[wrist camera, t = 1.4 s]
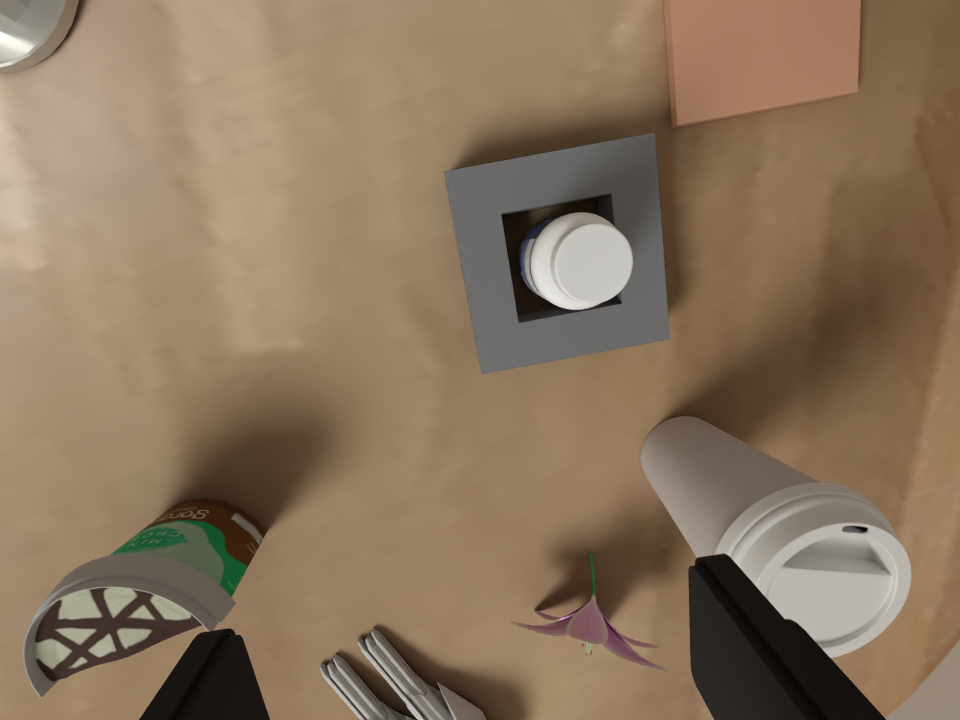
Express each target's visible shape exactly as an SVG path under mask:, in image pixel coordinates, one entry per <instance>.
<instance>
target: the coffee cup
mask: <svg viewBox="0 0 960 720" xmlns="http://www.w3.org/2000/svg"><path fill="white" fill-rule="evenodd" d="M640 460H641V466H642V469H643V472H644V474H645V475H646V477H647V479H648V480H649V482H650V483H651V485H652V487H653V488H654V490H655V491H656V493H657V495H658V496H659V498H660V499H661V501H662V503H663V504H664V506H665V507H666V509H667V510H668V512H669V514H670V515H671V517H672V518H673V520H674V522H675V523H676V525H677V526H678V528H679V530H680V531H681V533H682V534H683V536H684V538H685V539H686V541H687V542H688V544H689V546H690V547H691V549H692V550H693V552H694V554H695V555H696V557H697V558H698V557H704V556H710V555H717V554H723V553H725V554H727V555H728V556H729V557H731V558H732V560H733V561H734V562H735V563H736V564H737V565H738V566H739V567H740V569H741V570H742V571H743V572H744V573H745V574H746V575H747V577H748V578H749V579H750V580H751V581H752V582H753V583H754V585H755V586H756V587H757V588H758V589H759V590H760V591H761V593H762V594H763V595H764V596H765V597H766V598H767V599H768V600H769V602H770V603H771V604H772V605H773V606H774V607H775V608H776V610H777V611H778V612H779V613H780V614H781V615H782V616H783V618H784V619H791V620H793V621H795V622H797V623H798V624H799V625H800V626H801V627H802V628H803V629H804V630H805V631H806V632H807V633H808V634H809V635H810V636H811V637H812V638H813V640H814V641H815V642H816V643H817V644H818V645H819V646H820V647H821V648H822V649H823V651H824V652H825V653H826V654H827V655H828V656H829V657H830V658H833V657H837V656H840V655H843V654H846V653H849V652H851V651H854V650H856V649H858V648H860V647H862V646H863V645H865V644H867V643H868V642H870V641H871V640H873V639H874V638H875V637H877V636H878V635H879V634H880V633H882V632H883V631H884V630H885V629H886V628H887V627H888V626H889V625H890V624H891V622H892V621H893V620H894V619H895V617H896V616H897V615H898V613H899V612H900V610H901V608H902V607H903V605H904V603H905V601H906V598H907V596H908V593H909V589H910V584H911V565H910V560H909V557H908V555H907V552H906V550H905V549H904V547H903V546H902V544H901V543H900V542H899V540H898V539H897V537H896V534H895V532H894V530H893V528H892V526H891V525H890V523H889V522H888V521H887V519H886V518H885V516H884V515H883V514H882V513H881V511H880V510H879V509H878V508H877V507H876V506H875V505H874V504H873V503H872V502H871V501H870V500H869V499H868V498H866V497H865V496H864V495H862V494H861V493H859V492H857V491H855V490H853V489H851V488H848V487H845V486H842V485H837V484H832V483H821V482H819V481H817V480H815V479H813V478H811V477H809V476H807V475H805V474H803V473H802V472H800V471H798V470H796V469H794V468H792V467H790V466H788V465H786V464H784V463H783V462H781V461H779V460H777V459H775V458H773V457H771V456H769V455H767V454H766V453H764V452H762V451H760V450H758V449H756V448H754V447H752V446H751V445H749V444H747V443H745V442H743V441H741V440H739V439H737V438H735V437H734V436H732V435H730V434H728V433H726V432H724V431H722V430H720V429H719V428H717V427H715V426H713V425H711V424H709V423H707V422H705V421H704V420H701V419H699V418H696V417H691V416H679V417H674V418H671V419H668V420H666V421H664V422H662V423H661V424H659V425H658V426H657V427H655V428H654V429H653V430H652V431H651V432H650V434H649V435H648V436H647V438H646V440H645V441H644V444H643V446H642V450H641V456H640Z"/></svg>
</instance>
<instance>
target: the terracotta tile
mask: <svg viewBox="0 0 960 720" xmlns="http://www.w3.org/2000/svg"><path fill="white" fill-rule="evenodd" d="M860 11H861V0H664V13H665V29H666V45H667V61H668V77H669V93H670V109H671V125H672V128H677V127H683V126H688V125H693V124H699V123H704V122H710V121H715V120H720V119H726V118H731V117H737V116H742V115H747V114H753V113H758V112H764V111H769V110H774V109H780V108H785V107H791V106H796V105H801V104H807V103H812V102H818V101H823V100H828V99H834V98H839V97H845V96H849V95H851V94H854V93H856V92H858V69H859V40H860Z"/></svg>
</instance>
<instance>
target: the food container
mask: <svg viewBox="0 0 960 720" xmlns="http://www.w3.org/2000/svg"><path fill="white" fill-rule="evenodd" d="M265 534H266V532H265V530H264V529H263V528H262V526H261V525H260V524H259V522H258V521H257V520H255V519H254V518H253V517H252V516H250V515H249V514H248V513H247V512H245V511H244V510H243V509H241V508H238V507H236V506H234V505H232V504H229V503H227V502H225V501H218V500H211V499H196V500H189V501H185V502H182V503H180V504H178V505H176V506H174V507H172V508H171V509H169V510H168V511H167V512H165V513H164V514H163V515H161V516H160V517H159V518H157V519H156V520H155V521H154V522H152V523H151V524H150V525H148V526H147V527H146V528H144V529H143V530H142V531H141V532H139V533H138V534H137V535H135V536H134V537H133V538H132V539H130V540H129V541H128V542H126V543H125V544H124V545H122V546H121V547H120V548H119V549H117V550H116V551H115V552H113V553H112V554H111V555H110V556H105V557H102V558H99V559H95V560H92V561H90V562H88V563H86V564H83V565H81V566H79V567H77V568H76V569H75V570H73V571H72V572H70V573H69V574H68V575H66V576H65V577H64V578H63V579H62V580H61V581H60V583H59V584H58V585H57V586H56V587H55V588H54V590H53V591H52V592H51V593H50V595H49V596H48V597H47V598H46V600H45V601H44V602H43V603H42V605H41V606H40V608H39V609H38V611H37V612H36V614H35V615H34V617H33V620H32V623H31V625H30V626H29V628H28V630H27V633H26V635H25V638H24V643H23V650H22V655H23V665H24V668H25V672H26V675H27V678H28V679H29V681H30V683H31V685H32V687H33V689H34V690H35V691H36V693H37V694H38V696H39V697H40V698H42V697H43V695H44V694H45V693H46V692H47V691H48V690H49V689H50V688H51V687H52V686H53V685H54V684H55V683H56V682H57V681H58V680H60V679H64V678H67V677H68V676H70V675H72V674H74V673H77V672H79V671H82V670H85V669H87V668H90V667H93V666H96V665H99V664H103V663H107V662H112V661H116V660H119V659H122V658H126V657H129V656H131V655H134V654H136V653H138V652H140V651H142V650H145V649H147V648H149V647H151V646H153V645H155V644H157V643H159V642H161V641H164V640H166V639H168V638H170V637H172V636H175V635H178V634H180V633H183V632H185V631H188V630H191V629H193V628H196V627H198V626H201V625H203V626H204V627H205V629H206V630H207V631H208V632H209V631H213V630H214V628H215V627H216V625H217V624H219V623H221V622H222V620H223V619H224V618H225V617H226V615H227V614H228V613H229V611H230V610H231V609H232V608H233V606H234V605H235V604H236V603H235V602H234V600H233V599H232V598H231V597H232V595H233V594H234V592H235V590H236V588H237V586H238V584H239V582H240V581H241V579H242V577H243V575H244V573H245V571H246V569H247V568H248V566H249V564H250V562H251V560H252V558H253V556H254V555H255V553H256V551H257V549H258V547H259V545H260V544H261V542H262V540H263V538H264V536H265Z"/></svg>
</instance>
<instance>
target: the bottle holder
mask: <svg viewBox="0 0 960 720" xmlns="http://www.w3.org/2000/svg"><path fill="white" fill-rule="evenodd" d="M444 174H445V180H446V186H447V191H448V196H449V202H450V207H451V212H452V218H453V223H454V228H455V234H456V239H457V244H458V250H459V255H460V260H461V266H462V271H463V276H464V282H465V287H466V293H467V298H468V303H469V309H470V314H471V319H472V325H473V330H474V335H475V341H476V346H477V351H478V357H479V362H480V367H481V372H482V374H486V373H492V372H497V371H502V370H508V369H513V368H518V367H524V366H529V365H534V364H540V363H545V362H550V361H555V360H561V359H566V358H571V357H577V356H582V355H587V354H593V353H598V352H603V351H609V350H614V349H619V348H625V347H630V346H635V345H641V344H646V343H651V342H656V341H662V340H667V339H670V334H669V320H668V306H667V292H666V278H665V264H664V250H663V237H662V223H661V209H660V195H659V181H658V167H657V153H656V139H655V133H649V134H644V135H638V136H633V137H628V138H622V139H617V140H611V141H606V142H601V143H595V144H590V145H584V146H579V147H574V148H568V149H563V150H558V151H552V152H547V153H541V154H536V155H531V156H525V157H520V158H514V159H509V160H504V161H498V162H493V163H487V164H482V165H477V166H471V167H466V168H460V169H455V170H450V171H444ZM595 198H597V205H598V214H599V216H600V217H602V218H604V219H606V220H607V221H609V222H610V223H611V224H612V225H613V226H614V227H615V228H616V229H617V230H619V231H620V232H621V233H622V234H623V235H624V236H625V237H626V239H627V241H628V242H629V244H630V247H631V250H632V255H633V267H632V272H631V275H630V278H629V280H628V282H627V283H626V285H625V286H624V288H623V289H622V290H621V291H620V292H619V293H618V294H617V295H616V296H614V297H613V298H611V299H609V300H607V301H604V302H602V303H600V304H598V305H596V306H594V307H591V308H587V309H581V310H571V309H565V308H562V307H559V308H554V309H549V310H543V311H538V312H533V313H527V314H522V315H517V310H516V304H515V298H514V292H513V285H512V279H511V273H510V267H509V260H508V254H507V248H506V242H505V235H504V229H503V223H502V216H504V215H509V214H514V213H520V212H525V211H530V210H536V209H541V208H547V207H552V206H557V205H563V204H568V203H573V202H579V201H584V200H590V199H595Z"/></svg>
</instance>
